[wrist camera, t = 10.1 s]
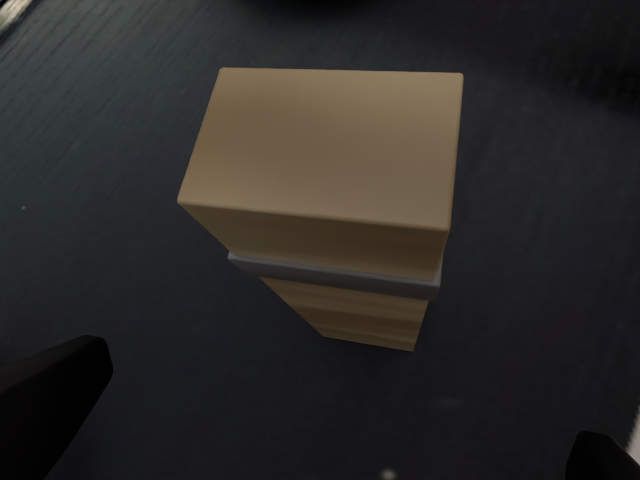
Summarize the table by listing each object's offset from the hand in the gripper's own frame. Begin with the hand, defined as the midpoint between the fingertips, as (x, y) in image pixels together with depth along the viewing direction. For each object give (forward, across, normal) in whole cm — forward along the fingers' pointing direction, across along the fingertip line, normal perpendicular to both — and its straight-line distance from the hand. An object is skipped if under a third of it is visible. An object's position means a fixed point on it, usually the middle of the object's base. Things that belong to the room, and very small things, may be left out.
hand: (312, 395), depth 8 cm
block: (+10, 0, +5) cm, 11 cm away
